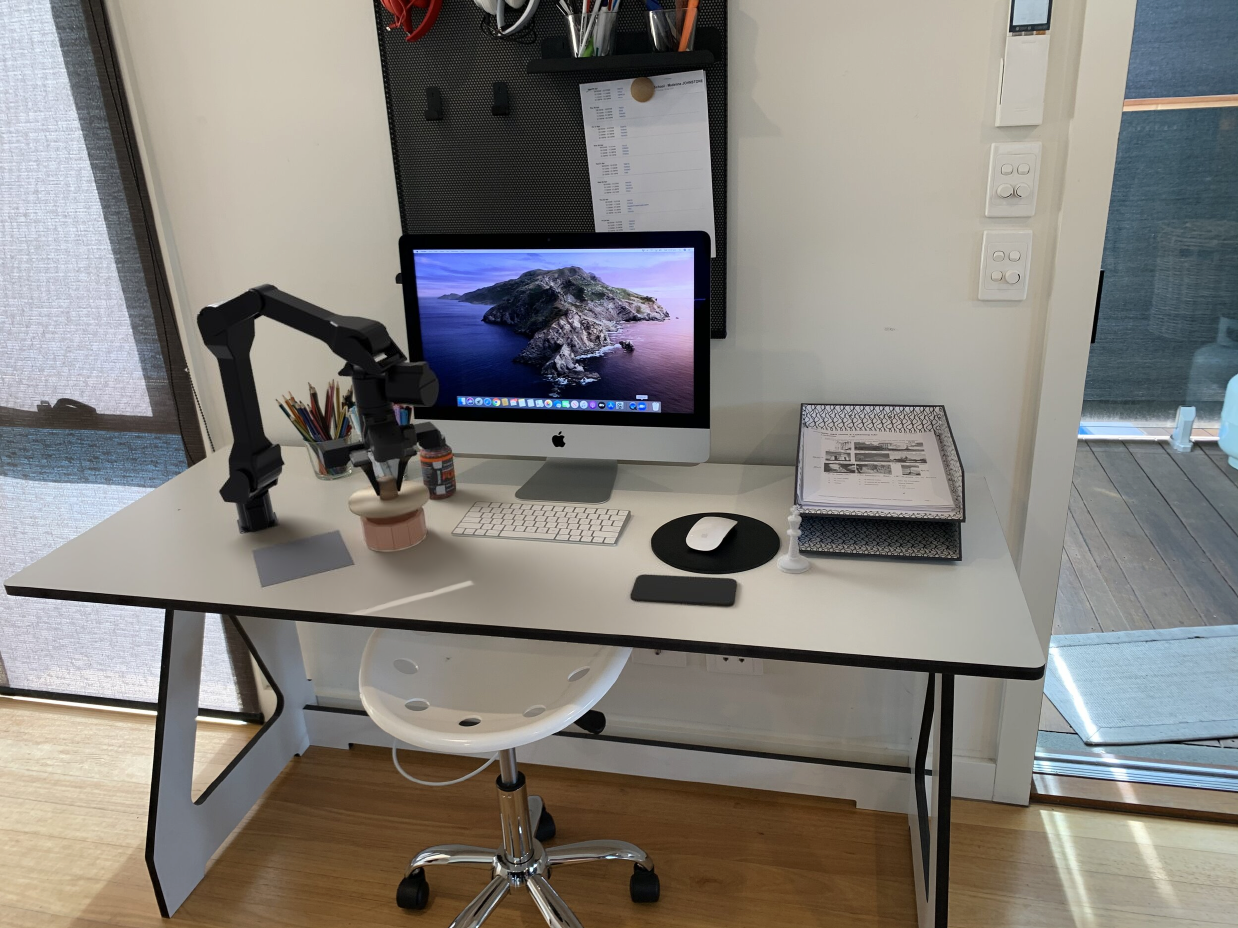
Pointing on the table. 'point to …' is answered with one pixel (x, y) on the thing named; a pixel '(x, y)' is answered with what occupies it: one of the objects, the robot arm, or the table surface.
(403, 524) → the bowl
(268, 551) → the mat
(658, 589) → the phone
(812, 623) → the table surface
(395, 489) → the lid
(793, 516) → the chess piece
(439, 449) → the supplement bottle
